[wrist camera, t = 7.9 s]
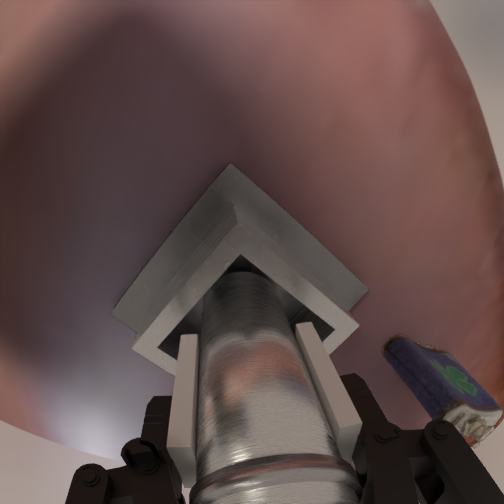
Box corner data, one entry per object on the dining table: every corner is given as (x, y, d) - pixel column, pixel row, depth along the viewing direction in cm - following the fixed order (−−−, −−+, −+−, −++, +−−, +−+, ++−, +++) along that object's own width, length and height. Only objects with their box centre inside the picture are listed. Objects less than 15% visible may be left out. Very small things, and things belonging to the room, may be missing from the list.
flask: (455, 353, 25) (519, 423, 15) (437, 377, 26) (495, 450, 16) (393, 329, 23) (469, 421, 13) (373, 358, 24) (436, 456, 13)
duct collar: (113, 308, 20) (91, 349, 15) (230, 162, 18) (234, 167, 13) (249, 394, 23) (255, 441, 19) (364, 284, 21) (397, 318, 17)
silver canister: (204, 344, 20) (205, 559, 7) (195, 271, 18) (169, 507, 5) (282, 336, 20) (351, 539, 7) (281, 264, 19) (389, 475, 6)
